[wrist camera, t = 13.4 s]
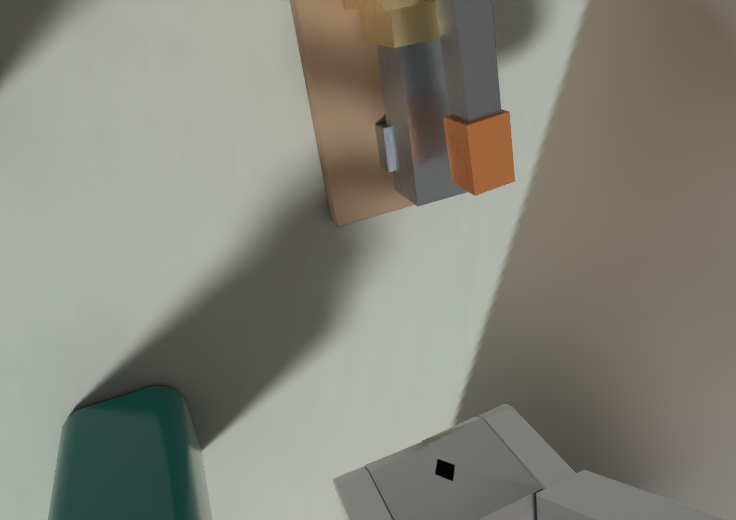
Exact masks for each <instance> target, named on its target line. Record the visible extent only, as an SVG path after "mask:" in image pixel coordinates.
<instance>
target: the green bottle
mask: <svg viewBox="0 0 736 520" xmlns="http://www.w3.org/2000/svg"><path fill="white" fill-rule="evenodd" d="M48 520H212V514H211V508H210V501H209V495H208V489H207V483H206V477H205V471H204V465H203V459H202V453H201V447H200V444H199V441H198V438H197V435H196V432H195V429H194V426H193V423H192V420H191V417H190V414H189V411H188V408H187V405H186V402H185V399H184V397H183V396H182V395H181V394H180V393H179V392H178V391H176V390H175V389H172V388H169V387H166V386H152V387H148V388H145V389H142V390H139V391H136V392H132V393H129V394H126V395H123V396H119V397H116V398H113V399H110V400H107V401H103V402H100V403H97V404H94V405H91V406H87V407H84V408H81V409H79V410H78V411H76V412H75V413H73V414H72V415H70V416H69V417H68V419H67V421H66V422H65V424H64V425H63V427H62V432H61V438H60V445H59V451H58V458H57V464H56V471H55V477H54V484H53V490H52V497H51V503H50V510H49V516H48Z"/></svg>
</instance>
